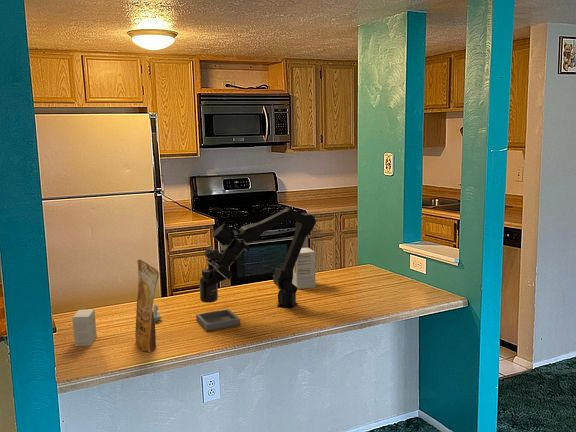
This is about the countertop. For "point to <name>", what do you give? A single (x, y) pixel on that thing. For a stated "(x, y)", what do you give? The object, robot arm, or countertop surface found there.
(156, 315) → the pacifier
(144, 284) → the pancake mix bag
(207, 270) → the supplement bottle
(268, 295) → the countertop surface
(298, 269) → the supplement box
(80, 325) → the small box
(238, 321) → the tray
